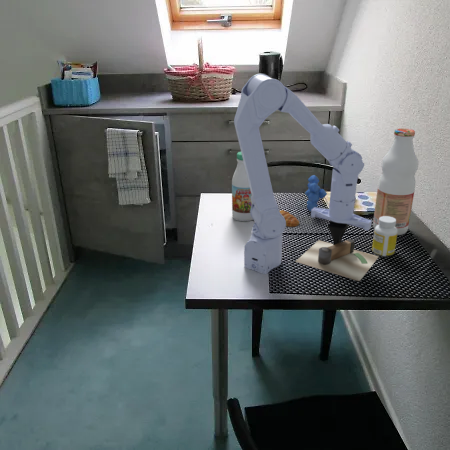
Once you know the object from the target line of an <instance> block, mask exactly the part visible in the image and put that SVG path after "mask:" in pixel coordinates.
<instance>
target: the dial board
mask: <svg viewBox="0 0 450 450" xmlns="http://www.w3.org/2000/svg"><path fill="white" fill-rule="evenodd" d="M333 244H334V243H330V242H328V241H323V240H320V239H318V240H317V241H316V242H314V244H312V246H310V247H309V248H308V249H307V250H306V251H305V252H304V253H303V254H302V255H301V256H300V257H298V258H297V259H296V260H295V263H299V264H302V265H304V266H308V267H312V268H315V269H318V270H320V271H324V272H328V273H331V274H335V275H338V276H341V277H345V278H348V279H350V280H353V281H356V282H360V281H361V280H362V279H363V278H364V276H366V274H367V273H368V271H369V270H370V269H371V267H372V266H373V265H374V263H376V261H377V260H378V258H379V257H380V255H377V254H371V253H368V252H364V251H361V250H357V249H354V252H353V253H351V254H350V253H349V254H347V255H344V256H342V257H339V258H337V259H334V260H332V261H331V263H329V264H321V263H319V262H318V255H319V249H320V248H322V247H330V246H333Z"/></svg>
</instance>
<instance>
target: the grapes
mask: <svg viewBox="0 0 450 450" xmlns="http://www.w3.org/2000/svg"><path fill="white" fill-rule="evenodd" d="M307 181H308V183H307V184H306V186H307V188H308V189H307V190H306V191H305V192H304V195H305V196H306V197H307V199H308V200H307V201H306V208H307V210H308V211H309V212H310V213H311V210H312V209H313V208H314V207H316V208H318V206H319V205H318V202H319V201H320V199H324V198H325V197H326V196H327V195H328V193H327V191H326V190H325V189H323V188H321V187H320V185H318V184H319V182H320V180H319V178H318V176H316V175H315V174H313V175H310V177H309V178H307Z"/></svg>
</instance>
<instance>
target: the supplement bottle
mask: <svg viewBox="0 0 450 450" xmlns="http://www.w3.org/2000/svg"><path fill="white" fill-rule="evenodd" d="M378 224H379V225H377V226H376V227H375V229H374V231H373V238H372V239H373V240H372V245H371V251H372V253H374V255H376V256H379V257H392V256H393V255H395V251H396V245H397V240H398V239H397V237H398V235H397V232H398V231H397V228H396V227H395V225H396V219H395V218H393V217H390V216H382V217H380V218H379V221H378Z"/></svg>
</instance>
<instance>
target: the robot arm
mask: <svg viewBox="0 0 450 450" xmlns="http://www.w3.org/2000/svg"><path fill="white" fill-rule="evenodd" d="M240 92H241V93H240V98H239V103H238V105H237V109H236V112H235V115H234V118H233V119H234V120H233V125H234V128H235V133H236V137H237V141H238V144H239V148H240V152H241V153H242V157H243V162H244V166H245V170H246V174H247V178H248V182H249V186H250V190H251V194H252V196H251V202H252V206H251V210H250V214H251V217H252V219H253V220H252V221H254V223H253V225H252V228H251V235H250V238H249V240H247V242H246V243H245V245H244V248H243V250H244V251H243V252H244V253H243V254H244V260H243V261H244V262H243V263H244V268H245V269H249V270H252V271H254V272H256V273H257V272H258V273H260V274H263V275H267V274H268V273H269V272H270V271H271V270H273V269H274V268H277V267H279V266H280V265H281V264H282V258H283V257H282V254H283V253H282V252H283V233H284V231H285V230H286V227H287V226H286V220H285V218H284V217H283V216H282V215H281V213H280V212H279V211H280V209H279V206H278V205H279V204H278V203H277V200H276V198H275V194H274V191H273V187H272V183H271V181H272V180H271V176H270V172H269V168H268V164H267V159H266V154H265V149H264V145H263V141H262V135H261V132H260V127H261V126H262V124H263V123H264V121H265V120H266V119H267V118H268V117H269V116H271V115H272V114H273V113H276V111H279V112H281V113H287V114H289V115H290V116H291V117H292V118H293V119H294V120H295V121H296V122H297V124H299V125H300V126H301V127H302V128H303V129H304V130H305V131H307V133H309V135H310V138H309V139H310V145H312V147H314V148H315V149H316V150H317V151H318V152H319V153H320V155H322V156H323V157H324V158H325V160H327V162H328V163H329V165H330V166H332V167H333V168H332V175H331V184H330V197H329V206H328V208H323V207H321V208H320V207H317V208H316V207H314V208H313V209H312V210H311V212H310V217H311V218H313V219H314V218H320V219H323V220H327V221H329V223H328V224H327V228H328V231H329V232H330V234H331V237H332V240H333V243H332V244H333V245H335V244H338V243H341V242H342V239H343V237H344V235H345V233H346V231H347V230H348V229H349V227H350V226H352V227H355V228H360V229H363V230H364V231H367V232H368V231H369V230H370V229H371V228H372V224H373V220H372V219H368V218H366V217H365V218H364V217H362V216H360V215H358V214H355V213H354V208H355V202H356V192H357V184H358V177H359V175H360V174H361V172H362V171H363V169H364V167H365V162H364V160H363V157H362V156H363V155H361V154H360V153H359V152H358V151H356V150H354V149H353V148H352V146H353V144H352V143H351V141H349V140H346V139H345V138H344V137H343V136H342V135H341V134H340V133H339V132H340V129H339V128H338V126H336V125H331V124H330V123H324V124H323V123H321V122H320V120H319V119H318V118H317V117H316V116H315V115H314V113H313V112H312V111H311V110H310V109H309V108H308V107H307V105H305V103H304V102H303V101H302V100H301V99H300V97H298V95H297V94H296V93H294V92H293V91H292V90H291V89H289V88H288V87H286V86H284V84H283V83H282V82H281V80H279V79H276V78H272V77H270V76H269V75H267V74H266V73H257V74H254V75H252V76H251V77H250V78H249V79H248V81H246V83H245V84H244V85H243V87H242V89H241V91H240Z"/></svg>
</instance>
